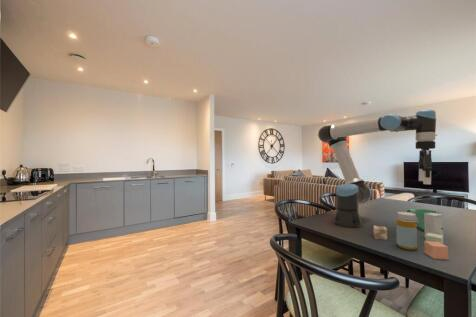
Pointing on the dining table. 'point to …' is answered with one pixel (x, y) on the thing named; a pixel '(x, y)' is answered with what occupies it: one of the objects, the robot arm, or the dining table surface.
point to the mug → (421, 216)
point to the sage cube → (434, 237)
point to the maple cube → (380, 232)
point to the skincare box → (433, 223)
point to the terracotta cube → (436, 250)
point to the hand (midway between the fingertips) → (424, 182)
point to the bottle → (406, 231)
